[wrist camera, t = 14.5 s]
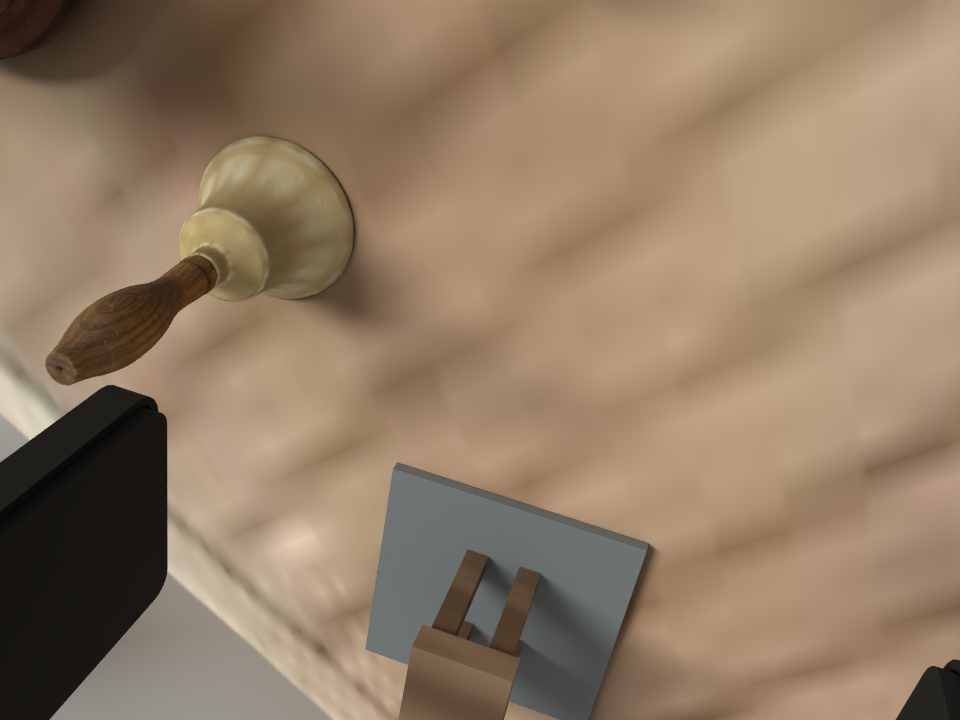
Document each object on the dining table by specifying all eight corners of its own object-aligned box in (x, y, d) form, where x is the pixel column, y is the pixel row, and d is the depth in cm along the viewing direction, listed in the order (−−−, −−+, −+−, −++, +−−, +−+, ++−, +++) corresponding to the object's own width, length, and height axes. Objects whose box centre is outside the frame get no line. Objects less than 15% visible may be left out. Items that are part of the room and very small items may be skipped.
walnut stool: (524, 661, 52) (487, 776, 46) (443, 632, 53) (394, 741, 46) (549, 571, 49) (512, 681, 42) (461, 542, 50) (411, 646, 43)
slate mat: (648, 543, 47) (647, 550, 46) (587, 720, 54) (585, 728, 53) (397, 462, 49) (393, 468, 49) (369, 642, 56) (365, 649, 56)
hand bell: (380, 277, 44) (206, 447, 31) (244, 312, 48) (33, 480, 34) (313, 113, 42) (89, 220, 28) (174, 161, 45) (-88, 279, 31)
